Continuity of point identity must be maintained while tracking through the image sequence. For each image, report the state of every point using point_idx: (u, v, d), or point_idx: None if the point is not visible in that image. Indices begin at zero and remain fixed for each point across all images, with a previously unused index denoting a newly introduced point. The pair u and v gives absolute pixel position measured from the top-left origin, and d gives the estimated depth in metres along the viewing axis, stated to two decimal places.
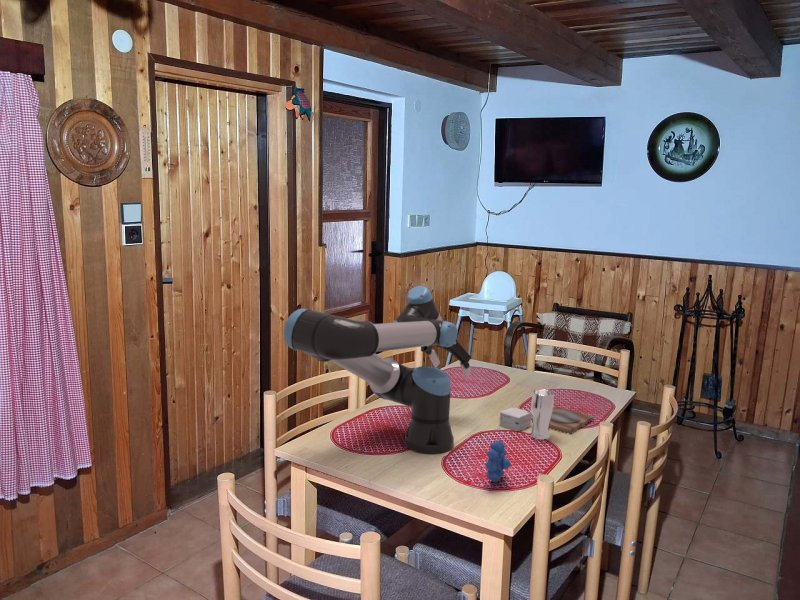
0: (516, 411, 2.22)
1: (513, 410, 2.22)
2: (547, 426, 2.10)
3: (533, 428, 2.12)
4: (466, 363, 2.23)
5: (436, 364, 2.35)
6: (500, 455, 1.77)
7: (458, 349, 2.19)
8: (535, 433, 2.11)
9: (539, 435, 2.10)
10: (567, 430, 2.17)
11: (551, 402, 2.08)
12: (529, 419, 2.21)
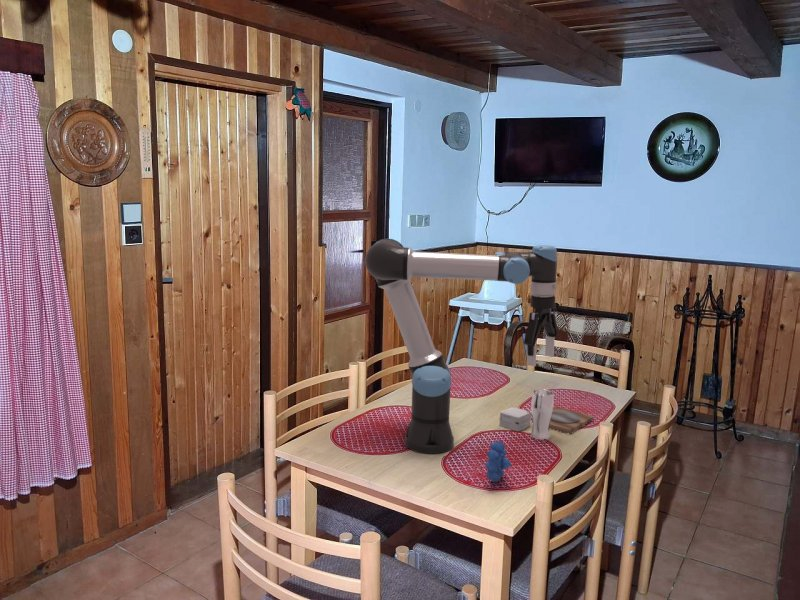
0: (516, 411, 2.22)
1: (513, 410, 2.22)
2: (547, 426, 2.10)
3: (533, 428, 2.12)
4: (528, 348, 2.03)
5: (547, 353, 2.16)
6: (500, 455, 1.77)
7: (529, 325, 2.03)
8: (535, 433, 2.11)
9: (539, 435, 2.10)
10: (567, 430, 2.17)
11: (551, 402, 2.08)
12: (529, 419, 2.21)
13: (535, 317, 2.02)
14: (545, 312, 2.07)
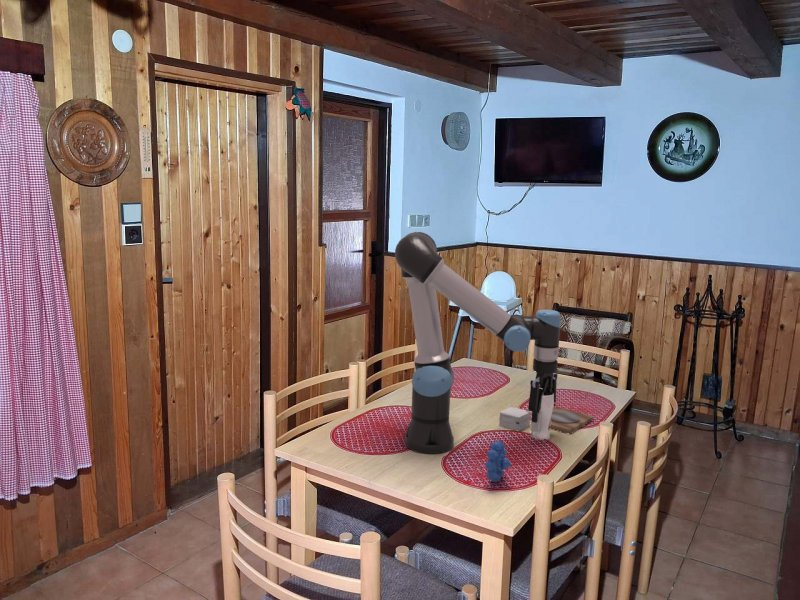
0: (515, 410, 2.22)
1: (512, 410, 2.23)
2: (547, 426, 2.10)
3: None
4: (533, 414, 2.08)
5: None
6: (500, 455, 1.77)
7: (531, 393, 2.06)
8: (535, 433, 2.11)
9: (539, 435, 2.10)
10: (567, 430, 2.17)
11: (551, 402, 2.08)
12: (528, 418, 2.22)
13: (536, 386, 2.04)
14: (547, 376, 2.09)
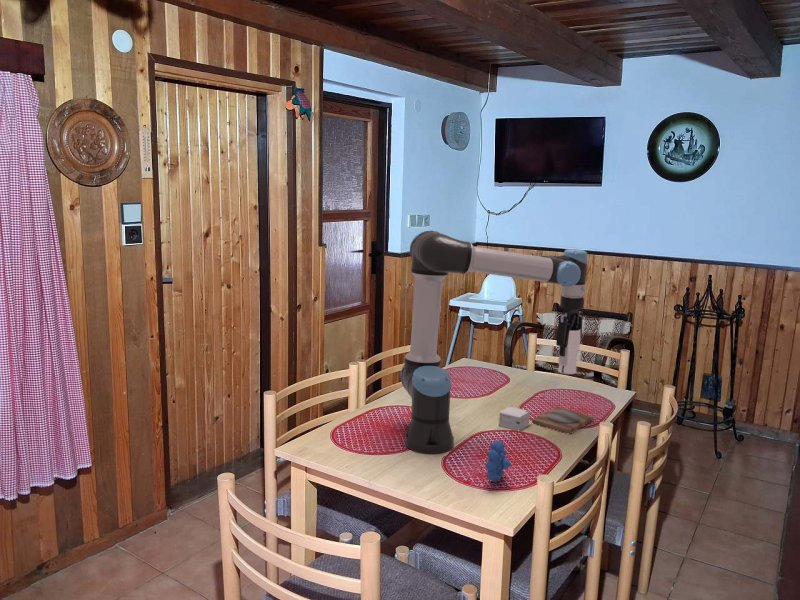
0: (515, 410, 2.23)
1: (512, 410, 2.23)
2: (574, 360, 2.21)
3: None
4: (560, 349, 2.19)
5: None
6: (500, 455, 1.77)
7: (559, 328, 2.17)
8: (562, 367, 2.22)
9: (566, 369, 2.21)
10: (567, 430, 2.17)
11: (578, 337, 2.19)
12: (528, 418, 2.22)
13: (564, 320, 2.15)
14: (574, 312, 2.20)
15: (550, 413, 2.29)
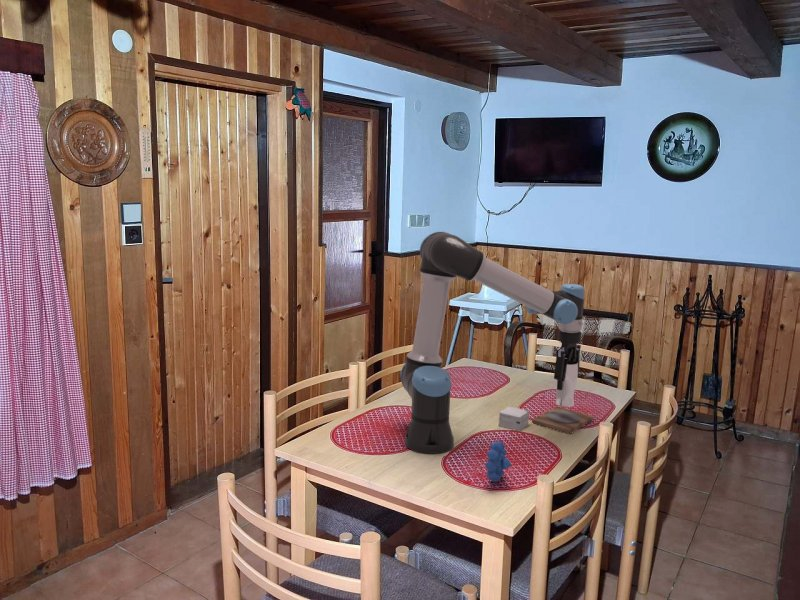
0: (514, 410, 2.23)
1: (511, 410, 2.23)
2: (572, 394, 2.23)
3: None
4: (558, 382, 2.21)
5: None
6: (500, 455, 1.77)
7: (557, 362, 2.19)
8: (560, 400, 2.24)
9: (564, 402, 2.23)
10: (567, 430, 2.17)
11: (575, 371, 2.21)
12: (527, 418, 2.22)
13: (561, 355, 2.17)
14: (571, 346, 2.22)
15: (550, 413, 2.29)
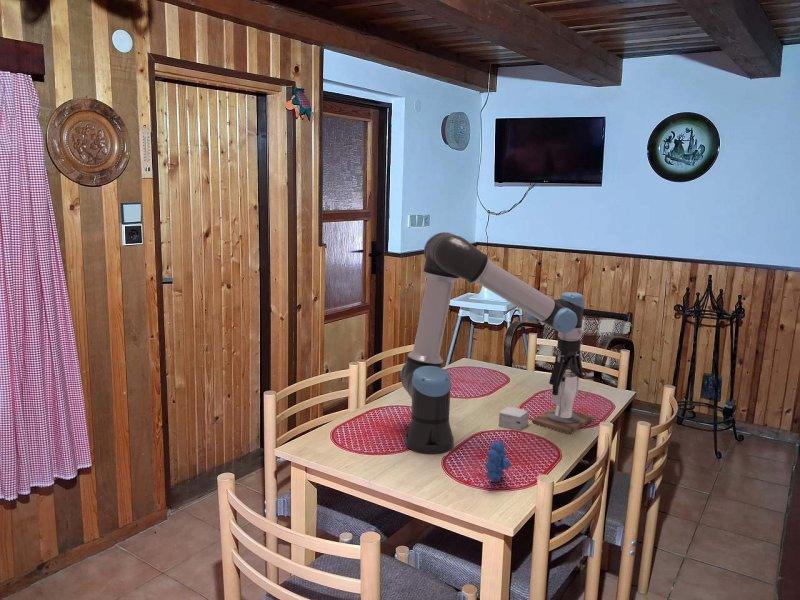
0: (514, 410, 2.23)
1: (511, 410, 2.23)
2: (570, 406, 2.24)
3: (557, 408, 2.26)
4: (553, 387, 2.19)
5: None
6: (500, 455, 1.77)
7: (555, 367, 2.18)
8: (559, 412, 2.25)
9: (563, 414, 2.24)
10: (567, 430, 2.17)
11: (575, 383, 2.22)
12: (527, 417, 2.23)
13: (560, 360, 2.17)
14: (571, 354, 2.22)
15: (550, 413, 2.29)
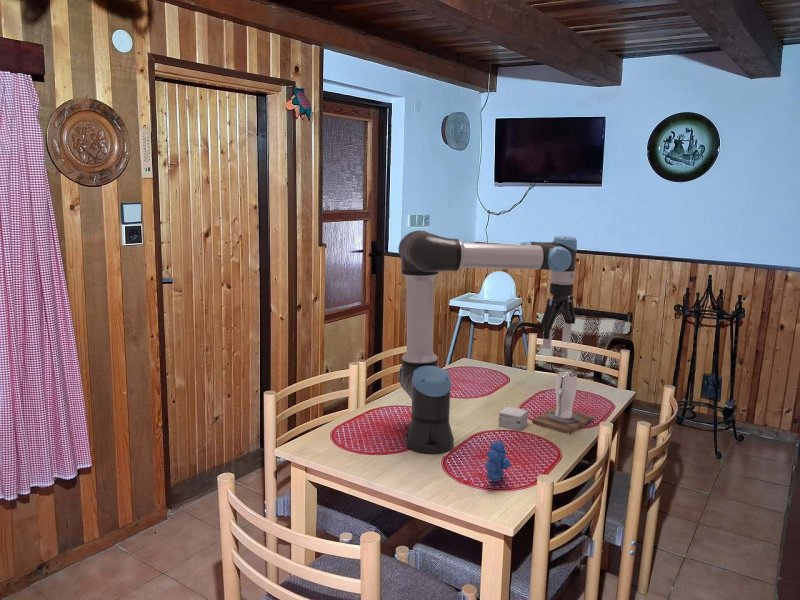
0: (514, 410, 2.23)
1: (511, 410, 2.23)
2: (570, 406, 2.24)
3: (557, 408, 2.26)
4: (545, 331, 2.16)
5: (564, 339, 2.28)
6: (500, 455, 1.77)
7: (546, 310, 2.16)
8: (559, 412, 2.25)
9: (563, 414, 2.24)
10: (567, 430, 2.17)
11: (574, 383, 2.22)
12: (526, 417, 2.23)
13: (552, 303, 2.15)
14: (563, 299, 2.20)
15: (550, 413, 2.29)
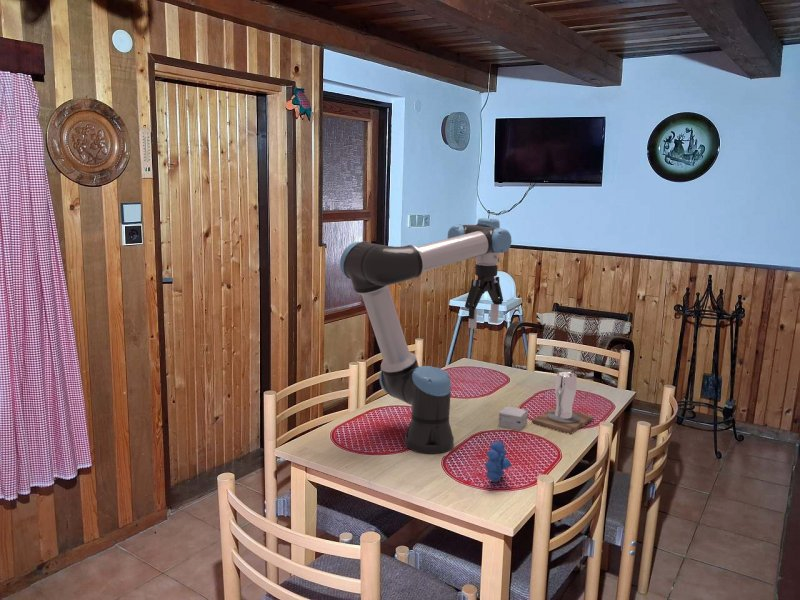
0: (513, 410, 2.23)
1: (510, 410, 2.23)
2: (570, 406, 2.24)
3: (557, 408, 2.26)
4: (469, 311, 2.21)
5: (492, 319, 2.33)
6: (500, 455, 1.77)
7: (471, 291, 2.21)
8: (559, 413, 2.25)
9: (563, 414, 2.24)
10: (567, 430, 2.17)
11: (574, 383, 2.22)
12: (526, 417, 2.23)
13: (476, 283, 2.20)
14: (488, 280, 2.25)
15: (550, 413, 2.29)
